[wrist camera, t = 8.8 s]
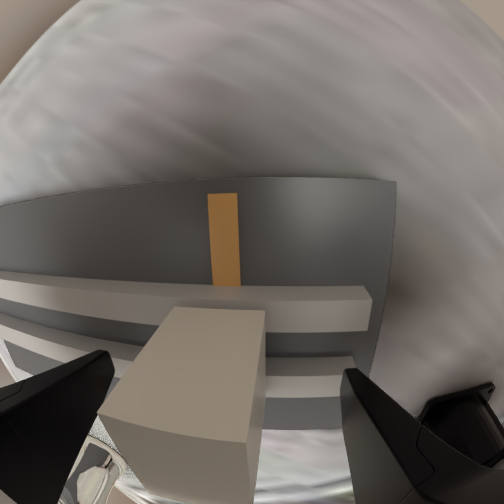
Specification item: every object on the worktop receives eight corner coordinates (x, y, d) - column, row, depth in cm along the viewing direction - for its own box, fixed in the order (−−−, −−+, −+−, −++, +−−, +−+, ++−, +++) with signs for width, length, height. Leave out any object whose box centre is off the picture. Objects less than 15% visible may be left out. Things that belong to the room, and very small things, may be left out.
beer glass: (106, 469, 21) (59, 558, 6) (62, 429, 19) (0, 519, 5) (145, 472, 19) (97, 583, 5) (94, 428, 18) (22, 545, 3)
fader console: (377, 179, 10) (410, 183, 7) (347, 401, 14) (356, 443, 11) (-9, 209, 13) (-41, 218, 10) (29, 354, 16) (7, 374, 13)
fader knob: (266, 295, 10) (246, 442, 4) (267, 381, 11) (252, 512, 5) (184, 293, 10) (96, 412, 4) (197, 376, 11) (149, 493, 5)
